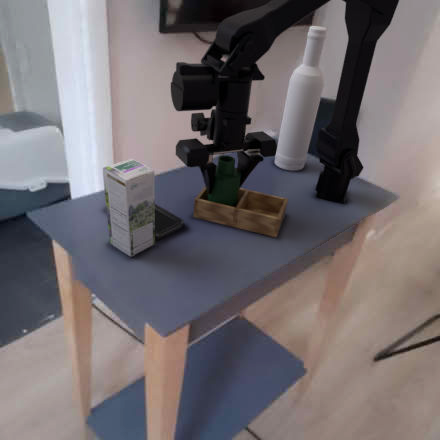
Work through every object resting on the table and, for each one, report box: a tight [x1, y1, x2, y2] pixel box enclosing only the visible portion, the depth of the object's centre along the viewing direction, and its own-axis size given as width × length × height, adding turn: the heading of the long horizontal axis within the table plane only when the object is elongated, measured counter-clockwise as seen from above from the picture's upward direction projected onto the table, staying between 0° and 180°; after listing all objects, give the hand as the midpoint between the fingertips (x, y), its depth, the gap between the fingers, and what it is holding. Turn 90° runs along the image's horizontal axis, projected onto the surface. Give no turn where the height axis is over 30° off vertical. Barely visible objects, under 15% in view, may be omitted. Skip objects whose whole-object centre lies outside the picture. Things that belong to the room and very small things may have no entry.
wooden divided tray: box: [193, 185, 289, 238], centre depth 79 cm, size 17×9×4 cm, turn 73°
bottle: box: [274, 25, 328, 172], centre depth 92 cm, size 8×8×30 cm
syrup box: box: [102, 158, 156, 258], centre depth 65 cm, size 6×6×14 cm
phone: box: [155, 203, 184, 241], centre depth 76 cm, size 8×1×15 cm
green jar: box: [207, 154, 241, 207], centre depth 77 cm, size 6×6×10 cm
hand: (223, 190), depth 78 cm, fingers closed on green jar, 6 cm apart
